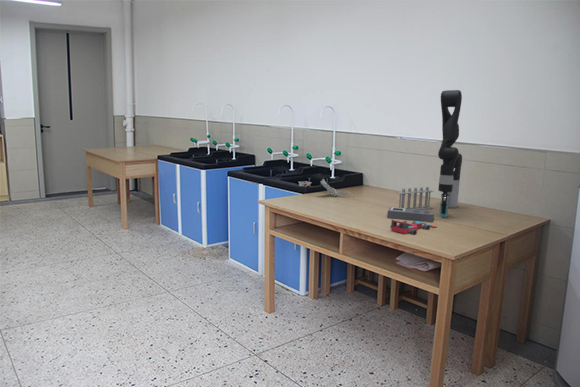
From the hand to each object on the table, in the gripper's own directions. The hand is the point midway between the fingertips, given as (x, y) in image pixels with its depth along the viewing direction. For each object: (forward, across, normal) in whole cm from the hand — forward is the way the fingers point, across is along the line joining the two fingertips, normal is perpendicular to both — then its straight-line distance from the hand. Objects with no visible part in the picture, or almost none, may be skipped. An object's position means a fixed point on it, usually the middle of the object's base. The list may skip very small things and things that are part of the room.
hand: (443, 212), depth 272 cm
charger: (+2, 0, 0) cm, 2 cm away
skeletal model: (+3, +33, +71) cm, 79 cm away
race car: (+3, -36, +13) cm, 38 cm away
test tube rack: (+3, +12, +17) cm, 21 cm away
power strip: (+2, -12, +17) cm, 21 cm away
